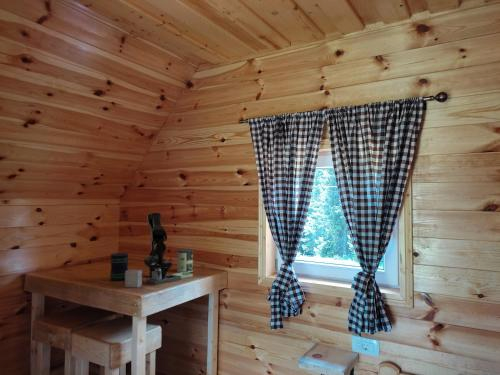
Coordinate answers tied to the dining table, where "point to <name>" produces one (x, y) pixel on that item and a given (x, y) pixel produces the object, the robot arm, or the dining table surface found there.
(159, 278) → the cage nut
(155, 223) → the robot arm
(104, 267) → the dining table surface
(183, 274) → the parts tray
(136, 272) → the medicine box
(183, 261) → the coffee can
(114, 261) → the storage jar
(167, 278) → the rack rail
